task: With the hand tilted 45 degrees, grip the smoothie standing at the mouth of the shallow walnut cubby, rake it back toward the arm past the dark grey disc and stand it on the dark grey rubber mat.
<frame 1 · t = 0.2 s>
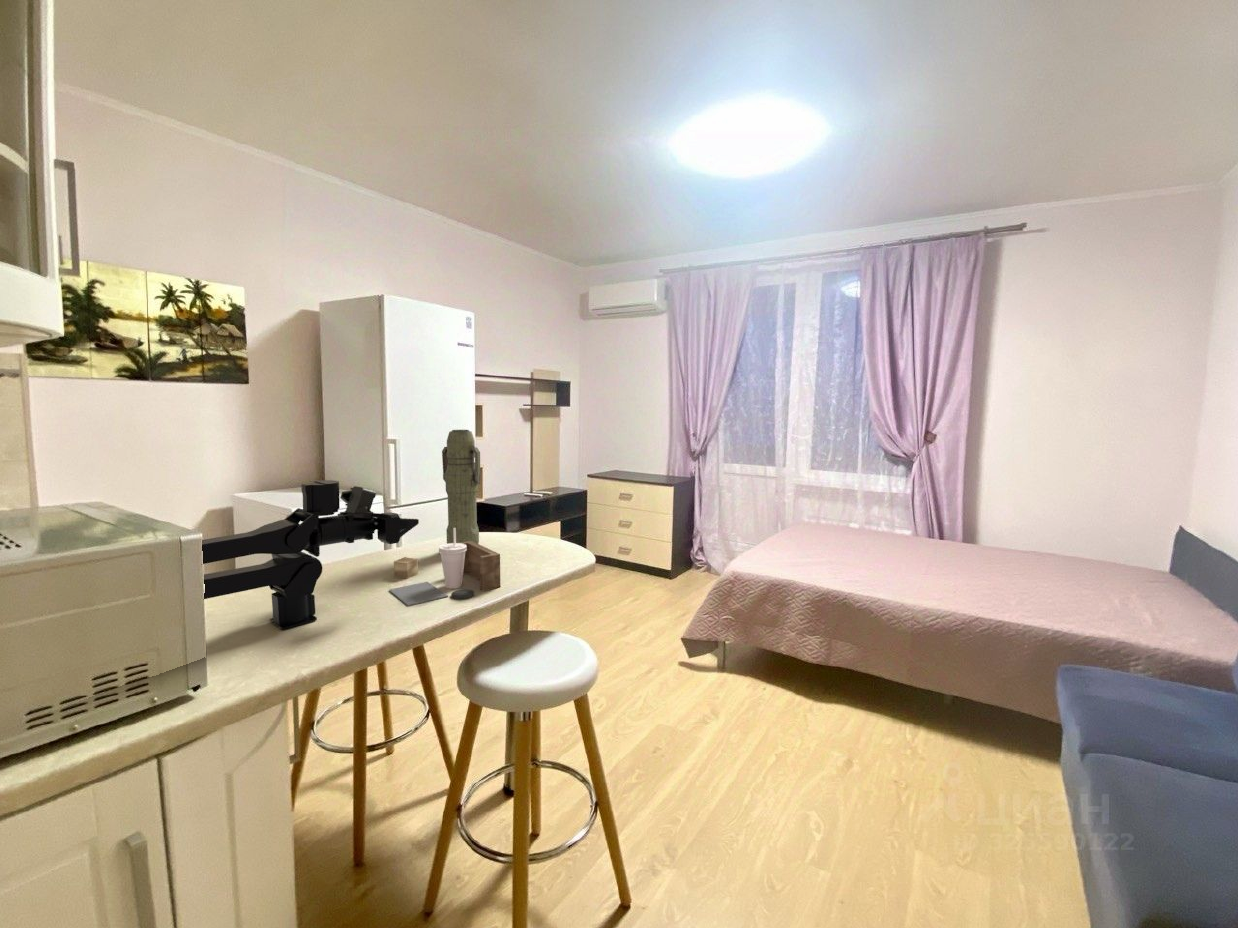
hand: (407, 519, 130), 17 cm above the countertop, tool horizontal, fingers open, 9 cm apart
oak cube: (406, 575, 142), on the countertop
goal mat: (418, 593, 129), on the countertop
dark grey disc: (462, 595, 128), on the countertop
cubby: (482, 579, 139), on the countertop
smoothie: (453, 586, 134), on the countertop
thermos: (462, 551, 163), on the countertop
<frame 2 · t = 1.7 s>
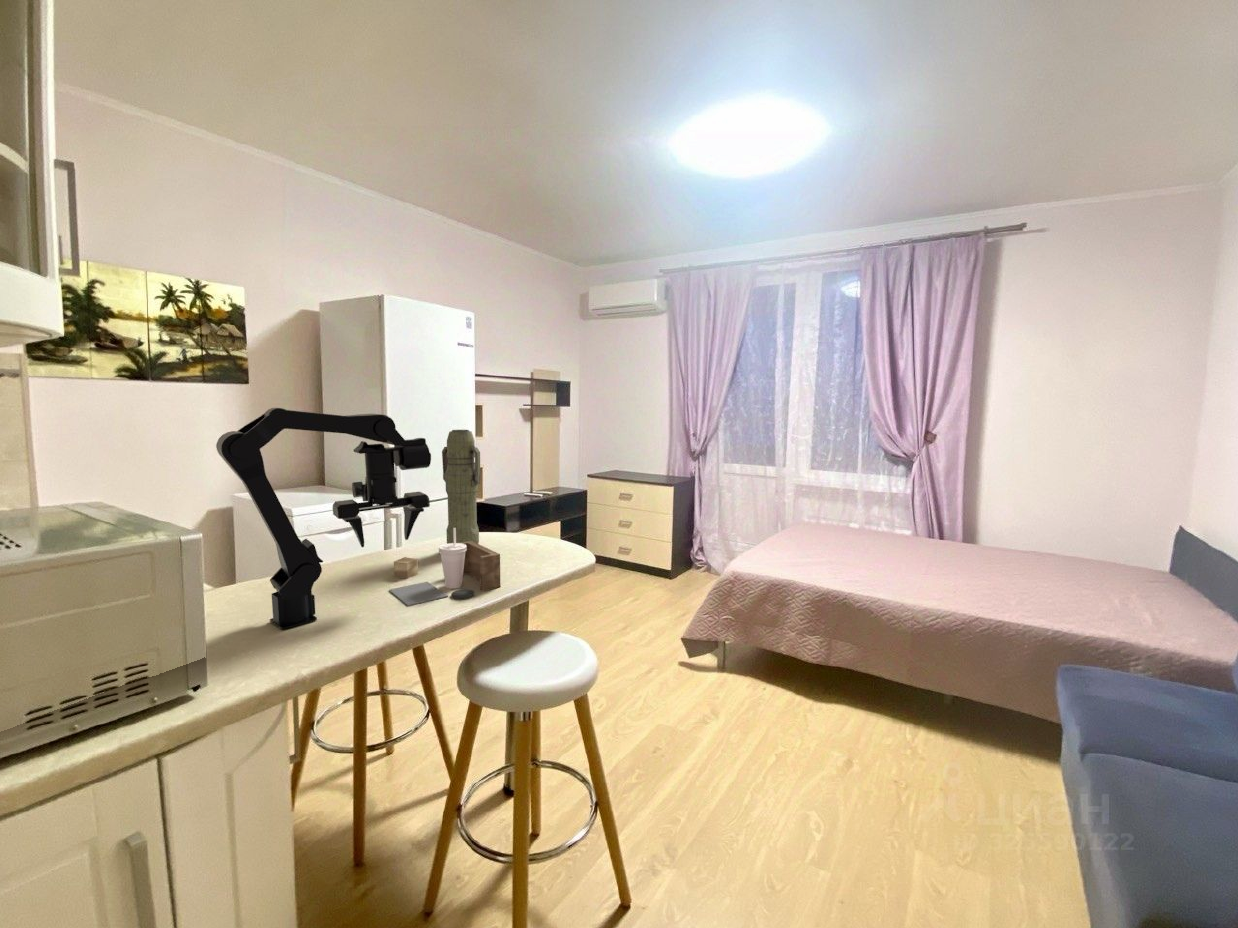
hand: (384, 543, 123), 13 cm above the countertop, tool pointing down, fingers open, 9 cm apart
nothing on the countertop moved.
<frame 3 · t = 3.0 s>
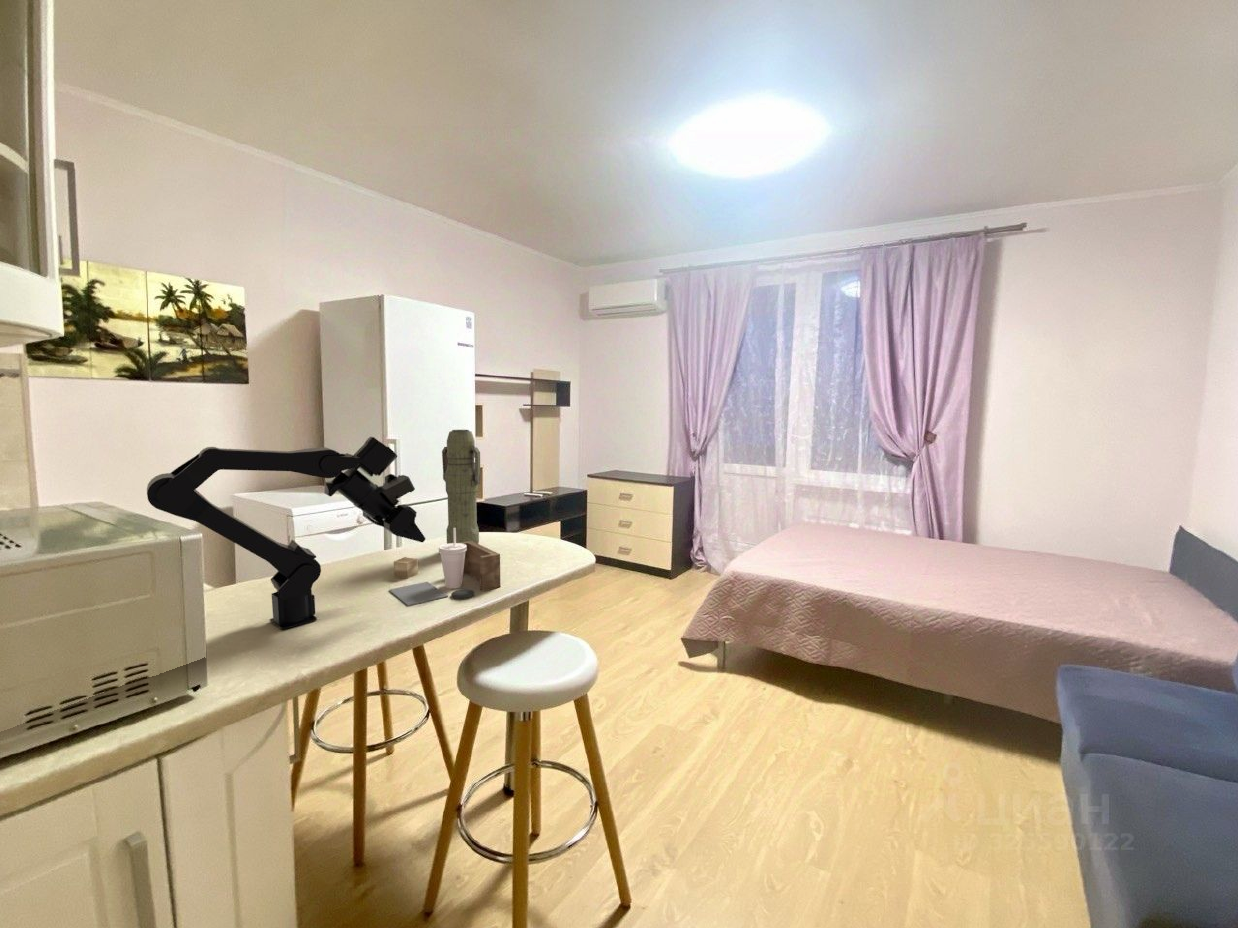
hand: (416, 536, 127), 13 cm above the countertop, tool tilted 45°, fingers open, 9 cm apart
nothing on the countertop moved.
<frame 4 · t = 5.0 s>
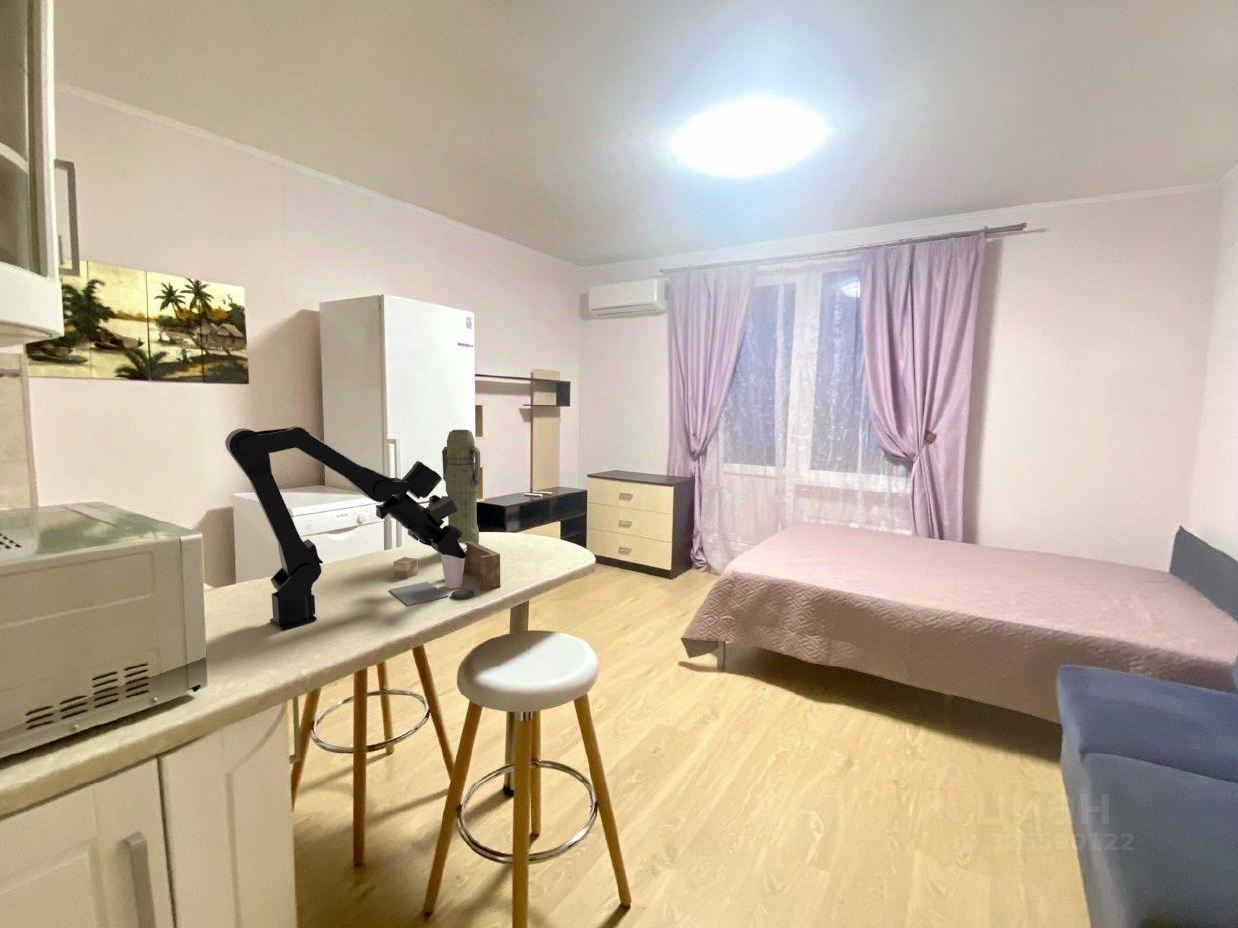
hand: (458, 553, 134), 8 cm above the countertop, tool tilted 45°, fingers closed on smoothie, 6 cm apart
smoothie: (453, 586, 134), on the countertop, touching gripper
everything else where it was.
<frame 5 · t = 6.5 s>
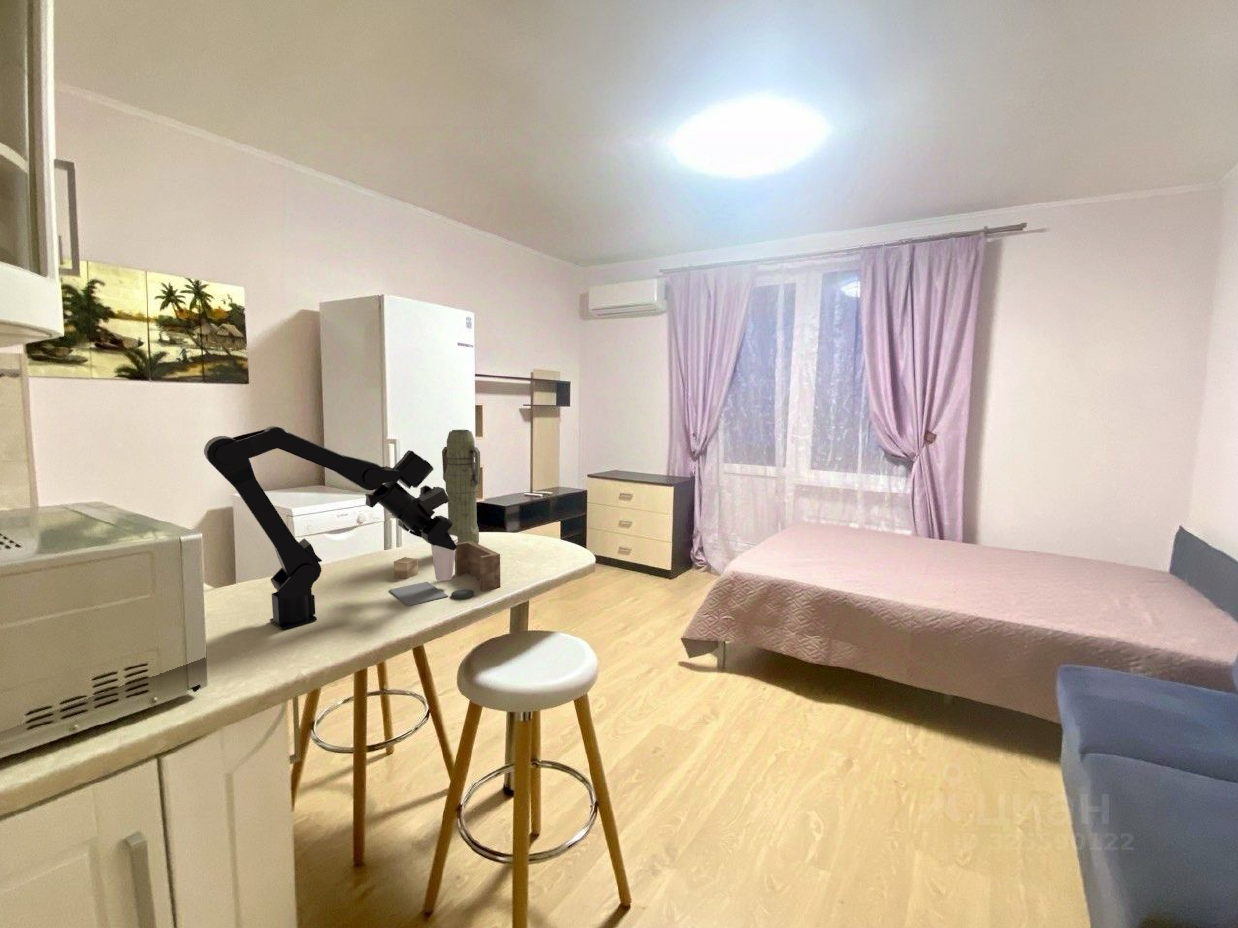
hand: (449, 545, 133), 10 cm above the countertop, tool tilted 45°, fingers closed on smoothie, 6 cm apart
smoothie: (444, 578, 133), point 2 cm above the countertop, touching gripper
everything else where it was.
when the fingers open (9 cm above the countertop, at t = 8.4 s): smoothie stays where it is, resting on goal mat.
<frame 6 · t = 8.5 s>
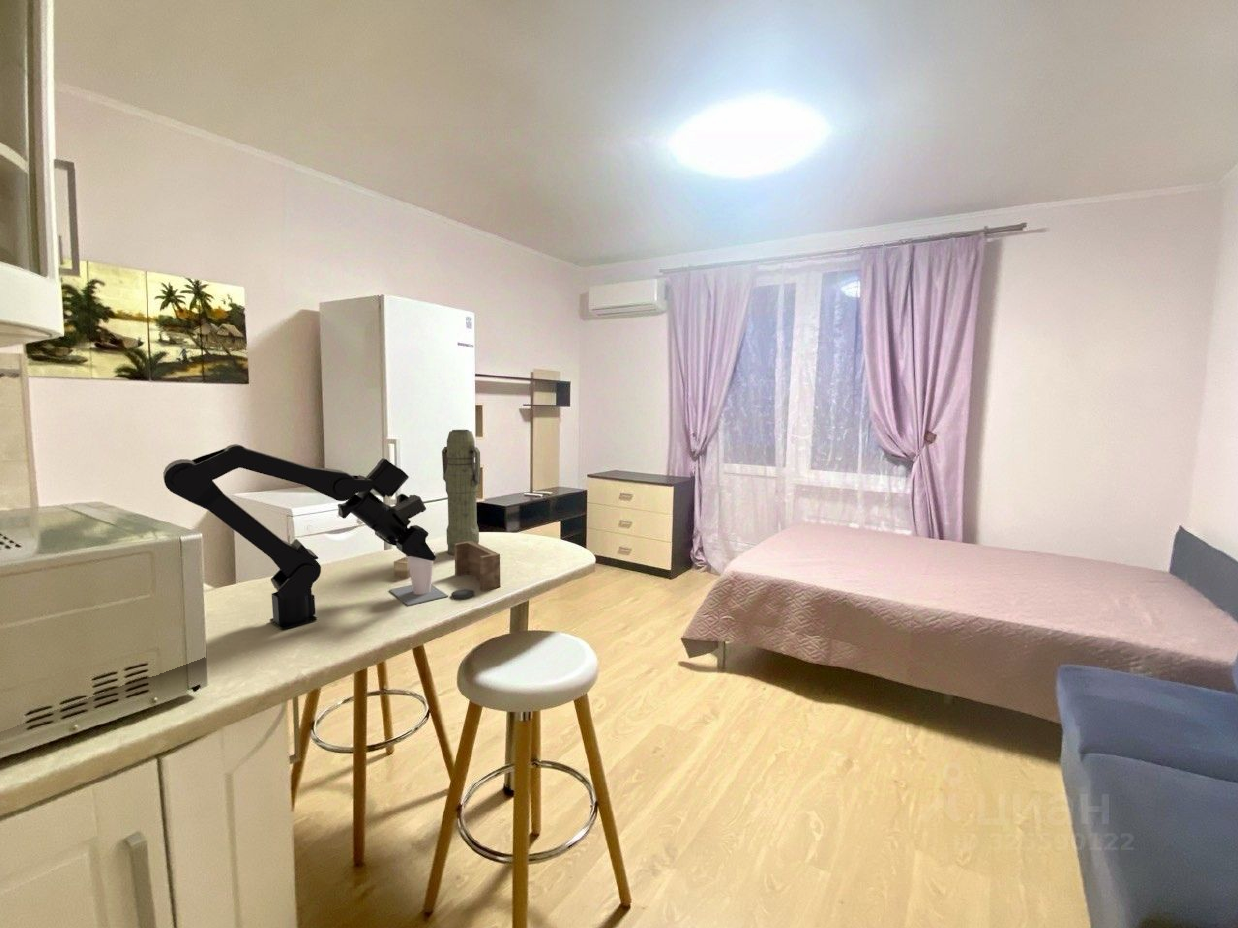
hand: (427, 554, 129), 9 cm above the countertop, tool tilted 45°, fingers open, 8 cm apart
smoothie: (421, 592, 129), resting on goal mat
everything else where it was.
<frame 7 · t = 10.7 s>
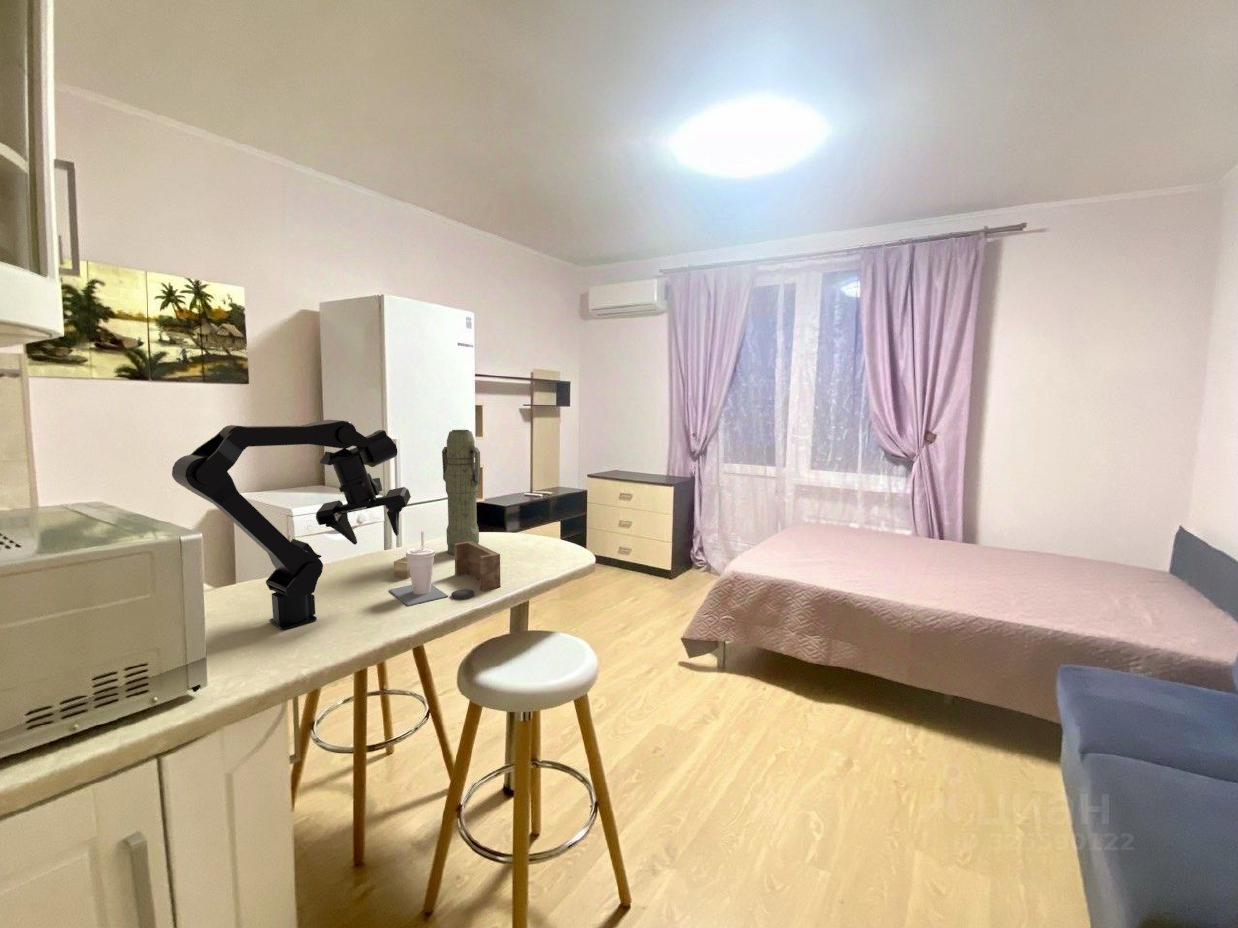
hand: (376, 539, 126), 13 cm above the countertop, tool tilted 20°, fingers open, 9 cm apart
nothing on the countertop moved.
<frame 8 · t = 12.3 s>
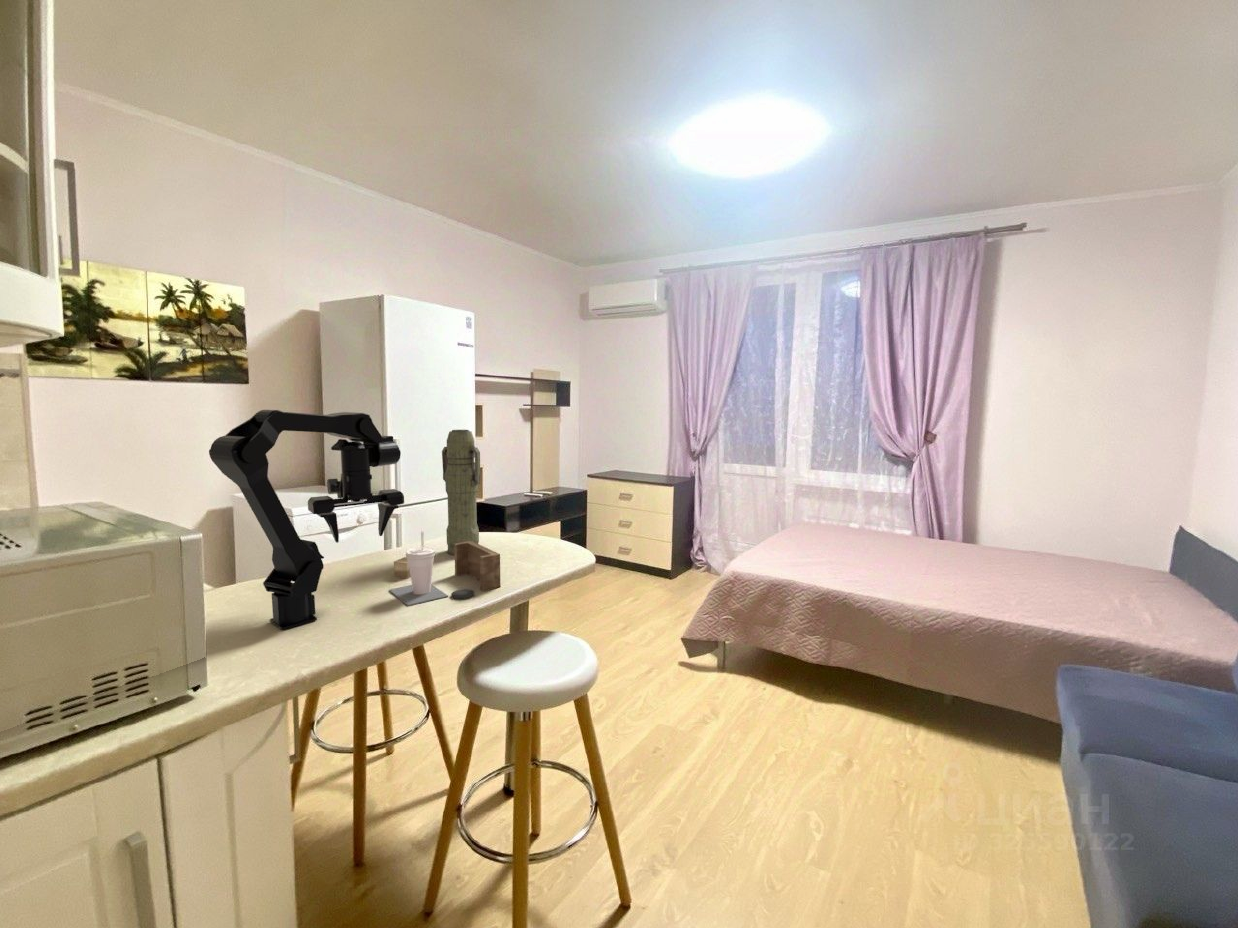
hand: (359, 538, 126), 13 cm above the countertop, tool pointing down, fingers open, 9 cm apart
nothing on the countertop moved.
at the end: smoothie inside the target area (0.9 cm from its centre), resting on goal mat; smoothie tilted 0°; the gripper is holding nothing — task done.
